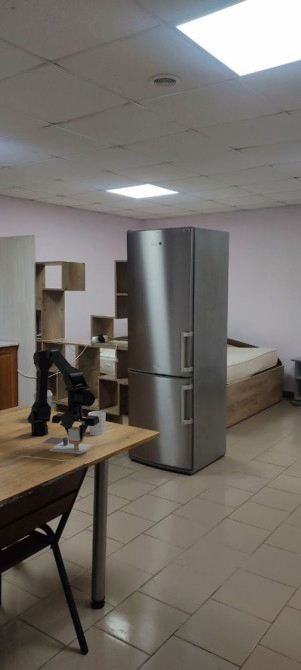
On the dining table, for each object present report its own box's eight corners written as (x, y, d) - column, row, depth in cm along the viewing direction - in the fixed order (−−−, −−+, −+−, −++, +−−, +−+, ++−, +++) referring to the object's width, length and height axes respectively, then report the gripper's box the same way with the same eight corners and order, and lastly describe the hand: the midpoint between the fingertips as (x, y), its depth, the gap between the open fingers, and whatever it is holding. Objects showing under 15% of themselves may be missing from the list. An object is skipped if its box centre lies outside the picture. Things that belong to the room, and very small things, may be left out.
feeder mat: (42, 443, 216) (42, 442, 216) (51, 438, 224) (51, 437, 224) (58, 445, 214) (58, 444, 214) (67, 439, 221) (67, 438, 221)
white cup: (103, 437, 223) (102, 415, 223) (86, 437, 225) (85, 415, 224) (108, 432, 231) (107, 411, 230) (91, 432, 233) (91, 410, 232)
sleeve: (68, 443, 203) (68, 429, 203) (73, 440, 207) (73, 426, 207) (78, 444, 202) (78, 429, 201) (83, 441, 206) (83, 426, 205)
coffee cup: (30, 420, 254) (29, 391, 252) (47, 417, 260) (46, 388, 259) (40, 424, 247) (39, 394, 245) (57, 420, 253) (56, 391, 252)
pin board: (49, 452, 205) (48, 442, 205) (62, 444, 215) (61, 435, 215) (80, 455, 201) (80, 445, 200) (92, 446, 211) (91, 437, 211)
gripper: (44, 405, 198) (45, 444, 200) (87, 408, 192) (88, 448, 194) (57, 399, 209) (59, 436, 210) (99, 402, 203) (100, 439, 205)
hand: (76, 440), depth 205 cm, fingers closed on sleeve, 4 cm apart
